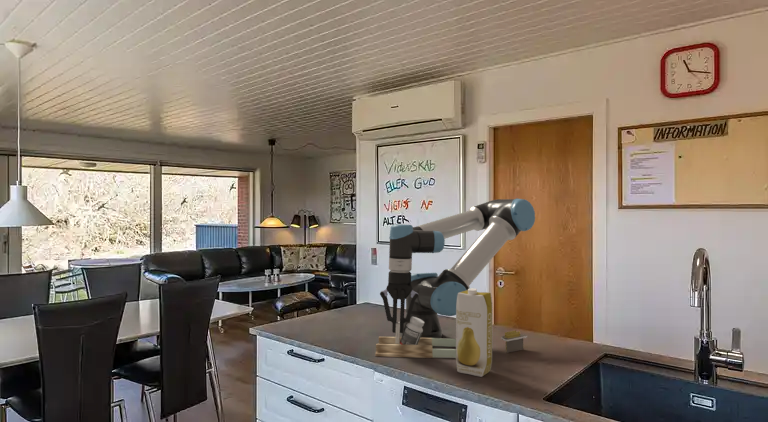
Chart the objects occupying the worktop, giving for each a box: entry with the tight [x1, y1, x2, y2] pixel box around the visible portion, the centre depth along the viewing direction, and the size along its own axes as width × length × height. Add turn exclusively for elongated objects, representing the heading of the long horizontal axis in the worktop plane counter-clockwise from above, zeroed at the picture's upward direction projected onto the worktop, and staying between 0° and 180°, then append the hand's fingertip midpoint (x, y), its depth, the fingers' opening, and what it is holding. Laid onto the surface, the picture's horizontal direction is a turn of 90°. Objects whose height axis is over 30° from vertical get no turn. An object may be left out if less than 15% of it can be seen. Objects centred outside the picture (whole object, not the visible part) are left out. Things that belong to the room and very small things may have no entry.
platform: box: [500, 329, 528, 354], centre depth 164 cm, size 12×18×7 cm, turn 123°
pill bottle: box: [400, 317, 424, 345], centre depth 163 cm, size 6×6×10 cm
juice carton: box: [455, 287, 493, 378], centre depth 142 cm, size 9×8×24 cm
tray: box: [432, 337, 456, 359], centre depth 162 cm, size 14×14×2 cm
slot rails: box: [374, 336, 434, 359], centre depth 163 cm, size 18×15×3 cm
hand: (397, 342), depth 163 cm, fingers closed
